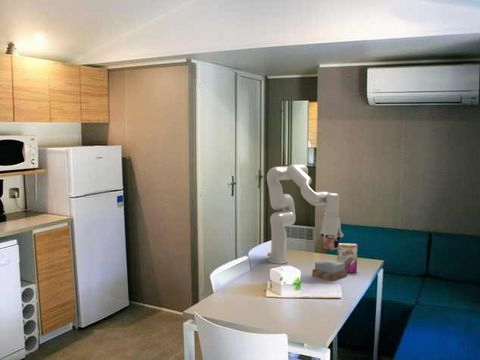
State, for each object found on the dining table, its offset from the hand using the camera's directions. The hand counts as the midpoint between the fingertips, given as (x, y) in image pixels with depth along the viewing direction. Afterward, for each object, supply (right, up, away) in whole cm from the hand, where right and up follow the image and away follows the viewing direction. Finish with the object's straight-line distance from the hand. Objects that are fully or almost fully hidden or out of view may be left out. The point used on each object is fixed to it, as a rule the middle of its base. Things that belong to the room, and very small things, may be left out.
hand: (331, 246), depth 266 cm
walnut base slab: (0, -18, +2) cm, 18 cm away
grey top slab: (0, -14, +2) cm, 14 cm away
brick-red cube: (0, -1, 0) cm, 1 cm away
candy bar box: (+11, -17, +11) cm, 23 cm away
